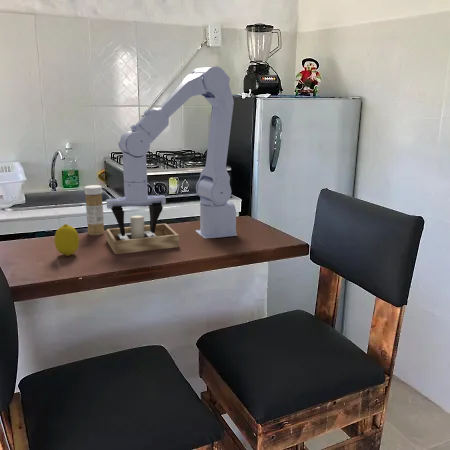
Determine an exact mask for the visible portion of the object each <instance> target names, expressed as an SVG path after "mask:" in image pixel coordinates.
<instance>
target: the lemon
mask: <svg viewBox="0 0 450 450" xmlns="http://www.w3.org/2000/svg"><path fill="white" fill-rule="evenodd" d="M79 245H80V237H79V233H78V231H77V230H76V228H75V227H74V226H72V225H69V224H67V223H65V224H63V225H62V226H60V227H58V229H57V230H56V231H55V234H54V246H55V248H56V251H58V252H59V253H61V255H65V256H66V257H68V256H71V255H72V254H74V253H75V252H76V251H77V250H78V249H79V247H80V246H79Z"/></svg>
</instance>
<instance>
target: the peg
mask: <svg viewBox="0 0 450 450" xmlns="http://www.w3.org/2000/svg"><path fill="white" fill-rule="evenodd" d="M129 219H130V220H129V221H130V222H129V223H130V227H131V239H137V238H145V234H144V226H145V216H143V215H132V216H130V218H129Z"/></svg>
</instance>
